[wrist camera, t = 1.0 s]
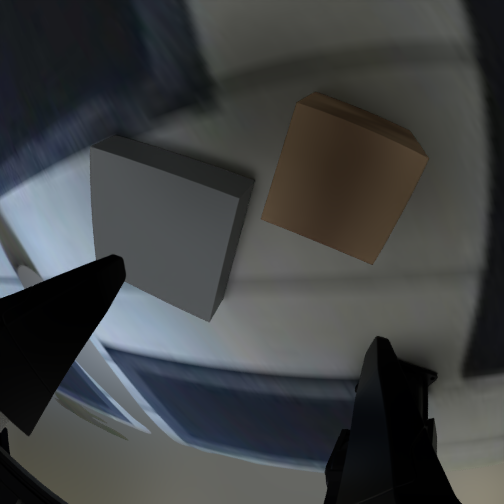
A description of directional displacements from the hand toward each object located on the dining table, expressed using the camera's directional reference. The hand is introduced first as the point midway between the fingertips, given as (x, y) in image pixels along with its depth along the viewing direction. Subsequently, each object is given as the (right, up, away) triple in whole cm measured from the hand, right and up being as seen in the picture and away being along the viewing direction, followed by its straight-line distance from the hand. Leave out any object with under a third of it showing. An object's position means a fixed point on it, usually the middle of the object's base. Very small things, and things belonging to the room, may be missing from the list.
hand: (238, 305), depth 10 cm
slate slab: (-6, +4, +15) cm, 17 cm away
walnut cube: (+6, +8, +8) cm, 13 cm away
